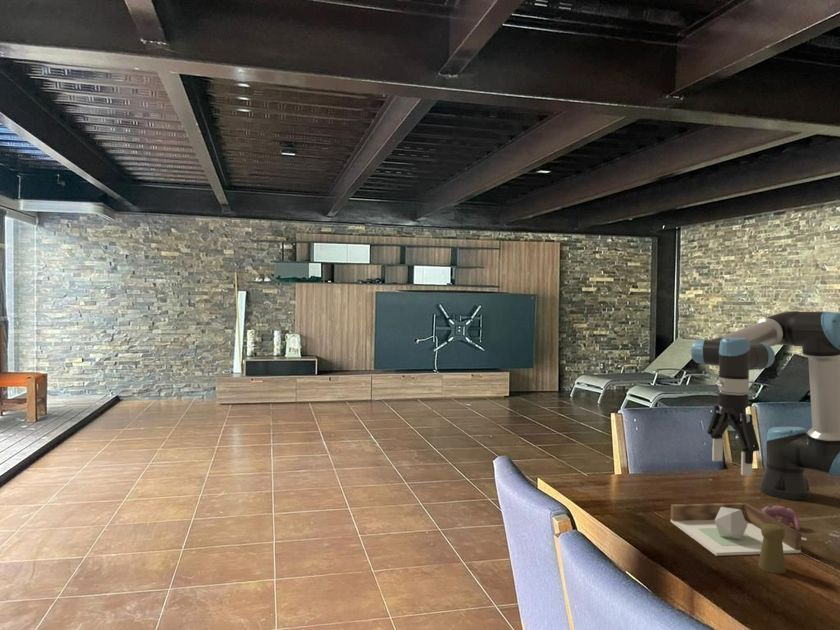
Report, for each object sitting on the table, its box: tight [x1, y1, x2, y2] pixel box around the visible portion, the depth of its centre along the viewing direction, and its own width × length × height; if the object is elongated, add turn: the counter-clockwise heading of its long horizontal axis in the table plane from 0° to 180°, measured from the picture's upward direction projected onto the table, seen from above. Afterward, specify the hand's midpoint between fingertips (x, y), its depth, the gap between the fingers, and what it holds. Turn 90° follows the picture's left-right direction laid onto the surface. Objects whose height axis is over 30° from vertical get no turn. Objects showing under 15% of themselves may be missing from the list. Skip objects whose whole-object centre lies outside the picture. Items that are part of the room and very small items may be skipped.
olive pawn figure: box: [757, 524, 786, 574], centre depth 153 cm, size 6×6×11 cm
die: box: [715, 507, 747, 540], centre depth 171 cm, size 8×9×10 cm
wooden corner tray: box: [670, 502, 802, 557], centre depth 174 cm, size 24×24×5 cm
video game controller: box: [760, 505, 801, 532], centre depth 182 cm, size 10×5×7 cm, turn 73°
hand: (731, 467), depth 171 cm, fingers open, 13 cm apart
